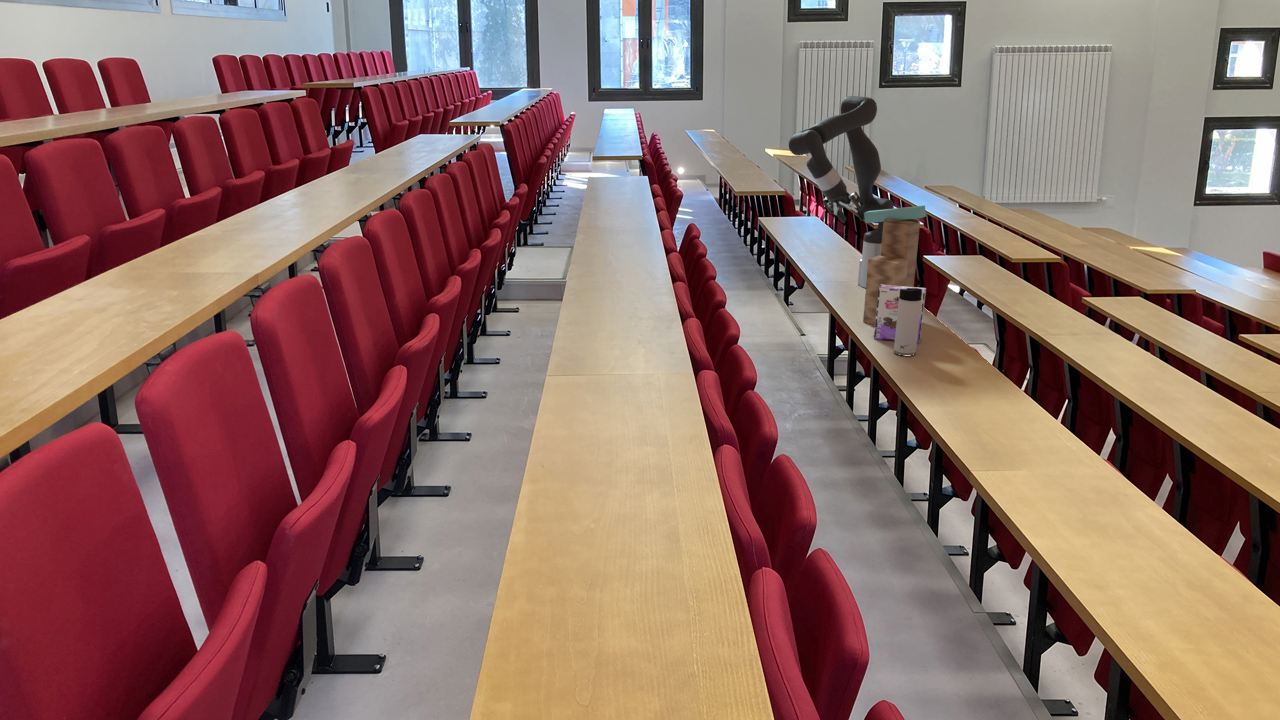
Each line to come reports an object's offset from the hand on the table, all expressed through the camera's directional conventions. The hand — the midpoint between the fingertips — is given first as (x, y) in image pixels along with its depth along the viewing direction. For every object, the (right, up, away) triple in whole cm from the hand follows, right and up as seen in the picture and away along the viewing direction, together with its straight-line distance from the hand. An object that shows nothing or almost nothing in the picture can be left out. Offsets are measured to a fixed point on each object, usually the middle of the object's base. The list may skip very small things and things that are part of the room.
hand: (853, 220), depth 308 cm
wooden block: (+7, -35, -8) cm, 37 cm away
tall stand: (+13, -33, -2) cm, 35 cm away
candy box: (+7, -41, -26) cm, 49 cm away
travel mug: (+6, -46, -40) cm, 61 cm away
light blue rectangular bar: (+11, -2, -11) cm, 16 cm away
